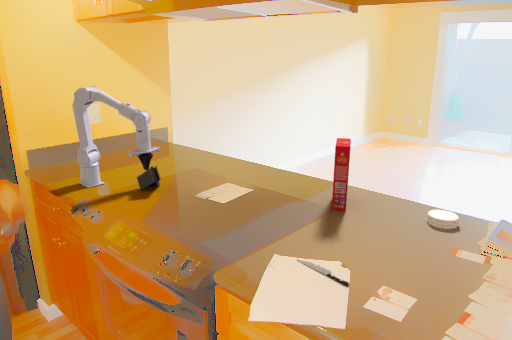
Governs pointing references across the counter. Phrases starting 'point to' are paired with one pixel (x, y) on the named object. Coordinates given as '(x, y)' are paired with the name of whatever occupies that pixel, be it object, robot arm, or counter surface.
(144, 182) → the door stopper
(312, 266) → the chef's knife
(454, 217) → the coaster
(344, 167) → the food packaging
